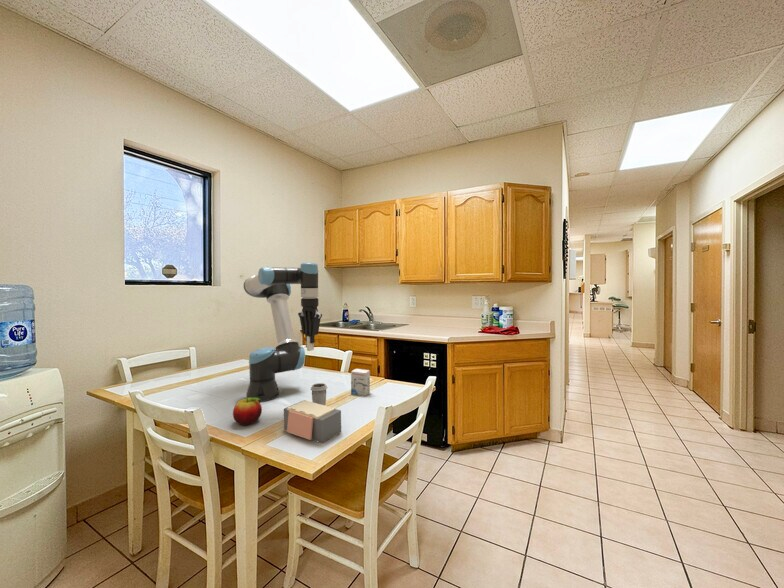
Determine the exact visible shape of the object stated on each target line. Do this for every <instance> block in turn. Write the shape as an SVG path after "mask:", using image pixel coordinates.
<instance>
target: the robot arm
mask: <svg viewBox="0 0 784 588" xmlns="http://www.w3.org/2000/svg"><path fill="white" fill-rule="evenodd" d="M291 285H300V297H301V299H300V307H302V309H301V311H300V312H298V313H297V315H298V317H299V321H300V328H301V331H302V332H301V333H302V334H303V335H305V342H306V351H307V352H311V351H314V350H315V345H314V344H315V336H317V335H319V331H320V324H321V319H322V317H323V314H322V313H320V312H319V310H318V307H319V298H318V297H319V265H318V263H316V262H301V264H300V267H270V266H267V267H264V266H263V267H260V268H259V269H258V273H257V275H253V276H249V277H248V278H246V279H245V280H244V282H243V290H244V291H245V293H246V295H248V296H251V297H253V298H259V299H260V298H262V299H263V298H265V299H266V302H267V303H268V304H270V309H271V314H272V320H273V323H274V325H273V326H274V331H275V335H276V340H277V344H276V346H275V347H272V346H270V347H269V346H268V347H261V348H257V349H256V350H253V351H252V352H250V353H249V358H248V365H249V368H248V369H249V384H248V388H247V391H246V393H245V397H246V398H245V399H247V397H249V398H254V397H256V398H259V399H261V400H257V401H258V402H259V403H260V402H266V401H271V400H274V399H276V398H277V397H279V396H280V389H279V386H278V384H277V381H276V374H280V373H284V372H290V371H292V372H293V371H297V370H299V369H300V370H301V369H302V368H303V367H304V364H305V360H306V359H305V358H306V352H305V349H304V347H303V346H301V345H299V342H298V341H297V340H296V339H295V335H294V331H293V326H292V320H291V315H290V312H289V311H290V310H289V306H288V300H289V297H290V296H291V293H292V290H291Z"/></svg>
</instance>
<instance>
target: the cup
mask: <svg viewBox="0 0 784 588" xmlns="http://www.w3.org/2000/svg"><path fill="white" fill-rule="evenodd" d="M327 389H328V386H327V384H326V383H324V382H318V383H313V384H312V385H311V387H310V391H311V400H312V401H311V402H313V403H317V404H321V405H325V406H326V405H327Z"/></svg>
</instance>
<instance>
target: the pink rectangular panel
mask: <svg viewBox="0 0 784 588" xmlns="http://www.w3.org/2000/svg"><path fill="white" fill-rule="evenodd" d="M312 428H313V417H309V416H306V415H303V414H299V413H296V412H293V411H289V415H288V425H287V431H286V433H289V434H292V435H295V436H297V437H301V438H304V439H306V440H309V441H311V440H312Z"/></svg>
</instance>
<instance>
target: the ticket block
mask: <svg viewBox="0 0 784 588" xmlns="http://www.w3.org/2000/svg"><path fill="white" fill-rule="evenodd" d="M289 411H293V412H296V413H299V414H303V415H306V416H309V417H313V428H312V439H311V440H312V441H314V440H315V441H316V442H317V441H318V442H317V443H321V444H324V443H325V441H326V442H327V441H329V440H331V439H332V438H334V437H336V436H337V435H338V434H340V433H342V410H341V409H338V408H337V409H336V408H334V407H332V406H328V405H326V404H325V405H321V404H317V403H313V401H309V400H301V401H299V402H297V403H294V404H291V405H290V406H286V407H284V408H283V430H284V431H286V430H287V425H288V415H289Z"/></svg>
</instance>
